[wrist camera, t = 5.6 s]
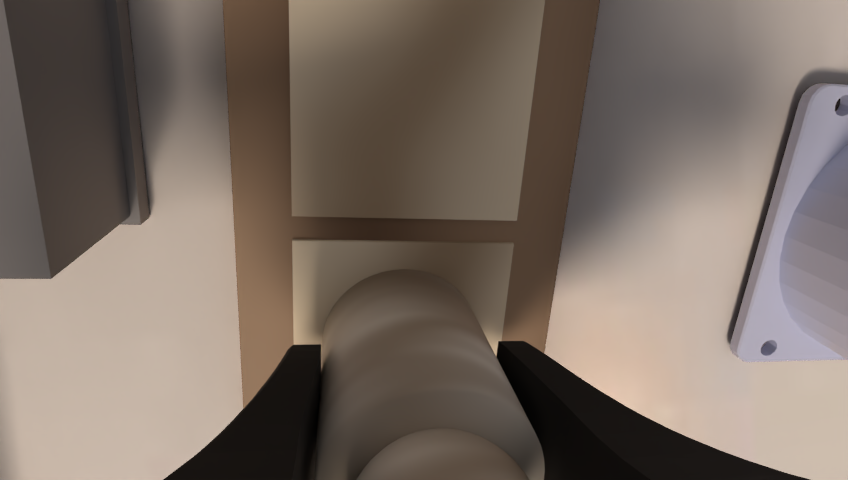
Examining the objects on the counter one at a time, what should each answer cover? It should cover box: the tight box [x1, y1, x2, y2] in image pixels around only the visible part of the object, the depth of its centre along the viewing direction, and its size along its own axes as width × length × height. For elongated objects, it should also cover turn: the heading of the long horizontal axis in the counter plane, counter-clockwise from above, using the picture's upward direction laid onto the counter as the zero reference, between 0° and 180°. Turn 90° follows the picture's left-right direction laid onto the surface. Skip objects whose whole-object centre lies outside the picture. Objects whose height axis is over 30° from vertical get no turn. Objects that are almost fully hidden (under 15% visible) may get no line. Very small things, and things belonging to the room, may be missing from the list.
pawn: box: [314, 269, 545, 480], centre depth 10 cm, size 4×4×8 cm
